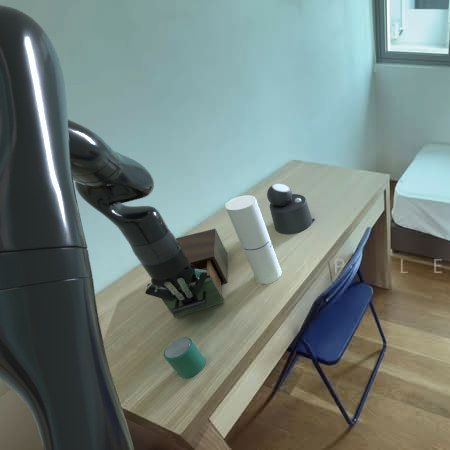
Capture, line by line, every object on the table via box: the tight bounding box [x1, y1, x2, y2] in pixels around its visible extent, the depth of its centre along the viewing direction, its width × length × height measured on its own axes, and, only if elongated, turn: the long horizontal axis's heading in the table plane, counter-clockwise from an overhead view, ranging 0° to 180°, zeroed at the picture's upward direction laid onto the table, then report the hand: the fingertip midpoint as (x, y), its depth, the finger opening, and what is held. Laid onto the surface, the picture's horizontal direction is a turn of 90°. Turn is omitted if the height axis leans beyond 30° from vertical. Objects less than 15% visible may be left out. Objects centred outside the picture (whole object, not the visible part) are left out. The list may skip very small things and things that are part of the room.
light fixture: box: [266, 183, 316, 235], centre depth 108 cm, size 13×16×14 cm
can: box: [163, 336, 206, 379], centre depth 66 cm, size 5×5×7 cm
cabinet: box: [175, 228, 228, 285], centre depth 89 cm, size 15×13×10 cm
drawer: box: [161, 259, 225, 319], centre depth 81 cm, size 18×11×8 cm, turn 25°
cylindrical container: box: [224, 194, 283, 285], centre depth 83 cm, size 7×7×25 cm
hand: (193, 305), depth 76 cm, fingers closed
